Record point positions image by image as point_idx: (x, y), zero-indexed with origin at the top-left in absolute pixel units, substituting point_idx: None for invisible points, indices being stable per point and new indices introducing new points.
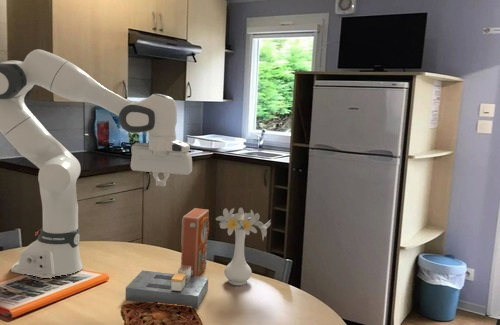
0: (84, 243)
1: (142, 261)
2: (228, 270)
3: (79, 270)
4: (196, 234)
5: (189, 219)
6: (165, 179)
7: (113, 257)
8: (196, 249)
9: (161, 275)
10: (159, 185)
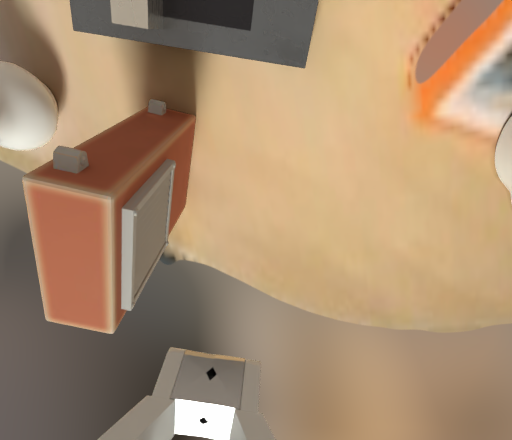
0: (485, 315)
1: (321, 217)
2: (21, 84)
3: (506, 124)
4: (78, 147)
5: (79, 182)
6: (127, 417)
7: (403, 236)
8: (108, 129)
9: (231, 23)
10: (221, 356)
